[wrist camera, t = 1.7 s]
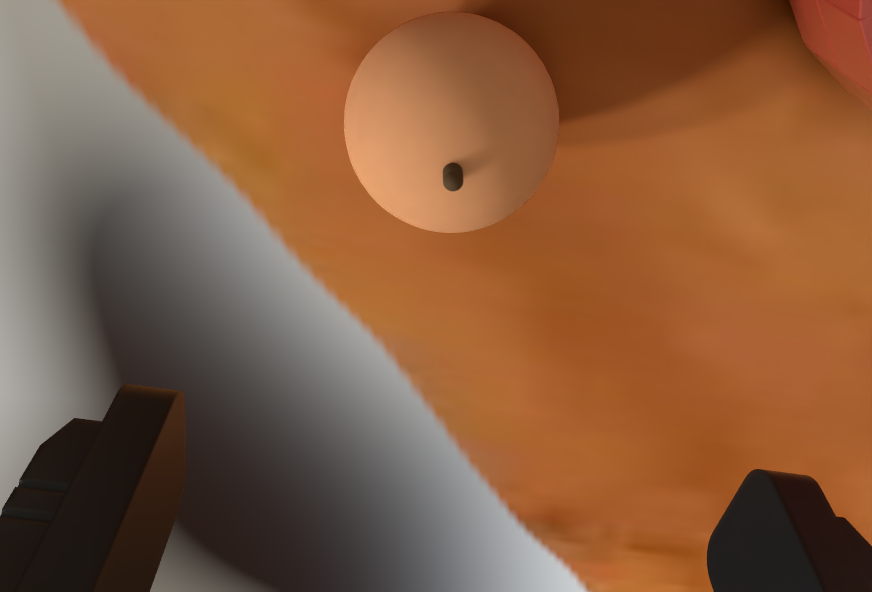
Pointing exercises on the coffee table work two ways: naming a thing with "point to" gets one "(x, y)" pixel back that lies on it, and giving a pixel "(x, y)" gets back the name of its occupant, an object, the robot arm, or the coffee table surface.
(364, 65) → the peach
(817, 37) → the bowl
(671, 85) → the coffee table surface
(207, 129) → the coffee table surface
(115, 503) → the robot arm
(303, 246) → the coffee table surface
